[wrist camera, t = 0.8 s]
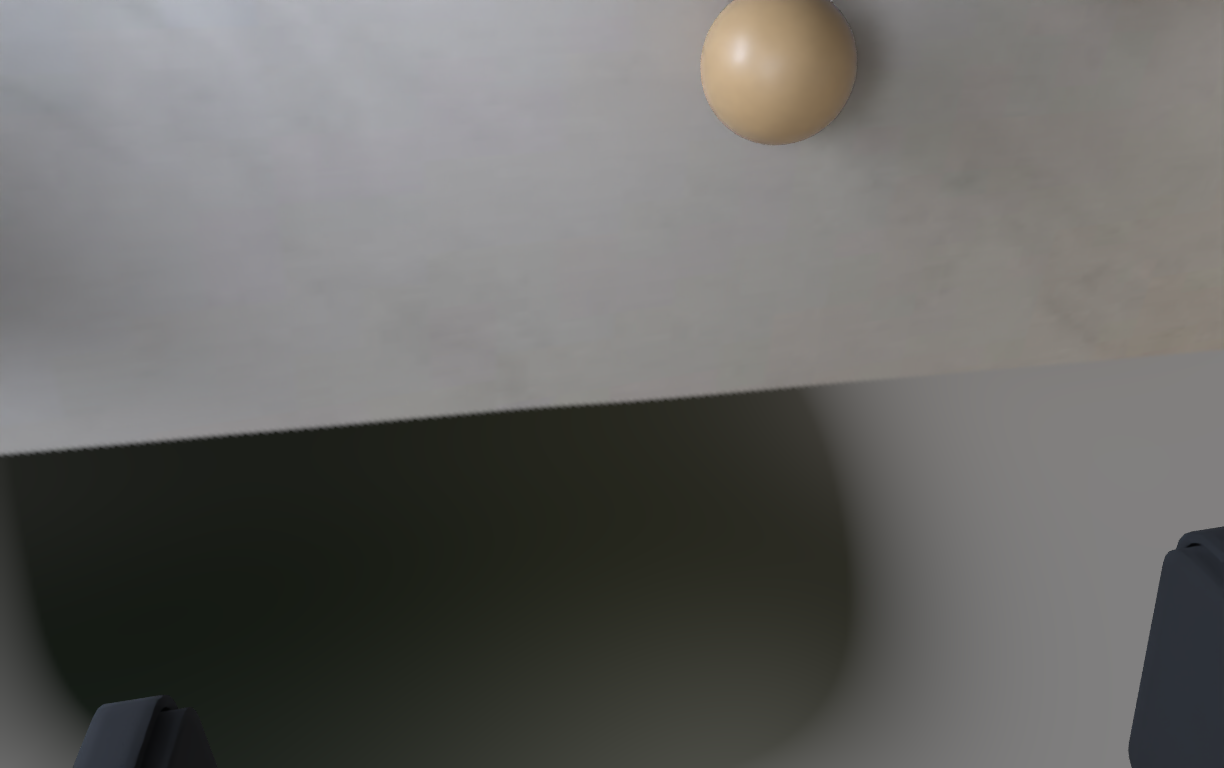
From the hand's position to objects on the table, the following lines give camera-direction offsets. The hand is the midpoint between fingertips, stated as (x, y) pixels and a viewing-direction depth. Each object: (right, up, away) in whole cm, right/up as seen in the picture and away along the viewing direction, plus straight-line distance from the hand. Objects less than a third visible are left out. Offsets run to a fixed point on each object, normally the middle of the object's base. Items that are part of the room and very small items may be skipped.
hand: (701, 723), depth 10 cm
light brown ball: (+4, +13, +23) cm, 27 cm away
